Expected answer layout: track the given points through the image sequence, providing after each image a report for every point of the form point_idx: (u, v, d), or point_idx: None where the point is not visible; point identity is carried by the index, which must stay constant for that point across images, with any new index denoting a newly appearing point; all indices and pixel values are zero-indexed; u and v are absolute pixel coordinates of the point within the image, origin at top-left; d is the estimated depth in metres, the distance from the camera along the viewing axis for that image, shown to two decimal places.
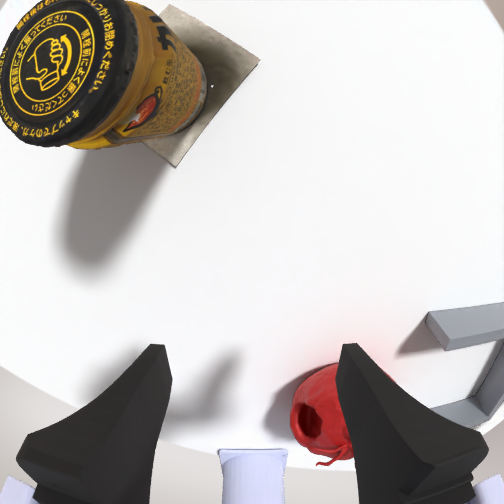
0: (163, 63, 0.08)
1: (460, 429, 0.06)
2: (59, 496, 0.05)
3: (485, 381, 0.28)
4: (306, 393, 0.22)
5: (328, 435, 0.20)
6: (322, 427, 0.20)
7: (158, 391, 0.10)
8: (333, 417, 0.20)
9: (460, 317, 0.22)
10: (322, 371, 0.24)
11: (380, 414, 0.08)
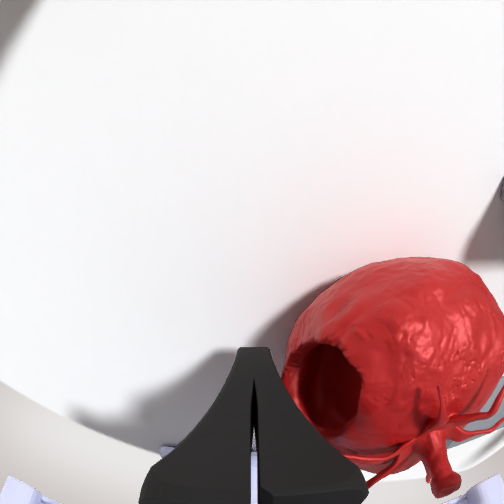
0: None
1: (334, 458, 0.06)
2: None
3: None
4: (315, 318, 0.10)
5: (376, 418, 0.07)
6: (363, 397, 0.08)
7: None
8: (392, 366, 0.07)
9: None
10: (348, 274, 0.11)
11: (258, 425, 0.08)
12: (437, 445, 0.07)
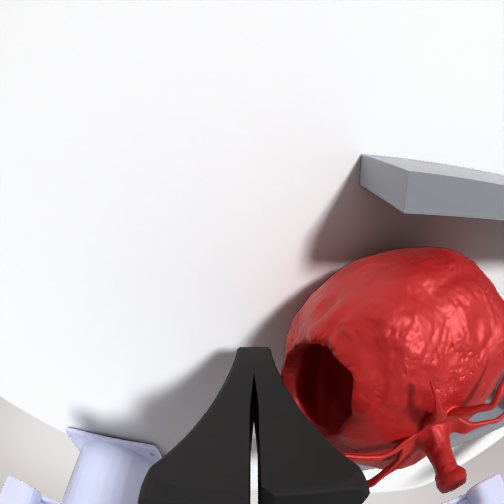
0: None
1: (335, 458, 0.06)
2: None
3: None
4: (306, 318, 0.10)
5: (371, 416, 0.07)
6: (355, 396, 0.07)
7: None
8: (382, 363, 0.07)
9: (440, 166, 0.10)
10: (339, 271, 0.11)
11: None
12: (440, 439, 0.07)
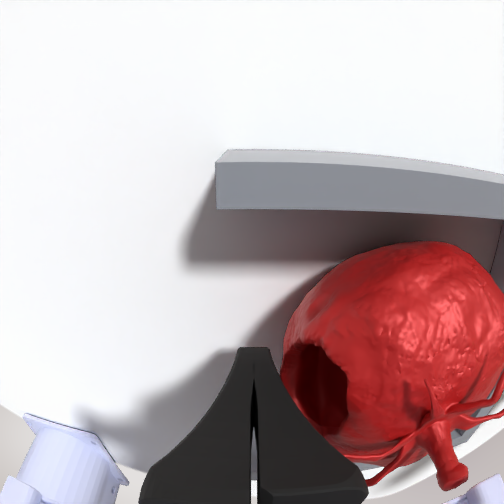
0: None
1: (334, 458, 0.06)
2: None
3: None
4: (300, 319, 0.10)
5: (368, 415, 0.07)
6: (349, 395, 0.07)
7: None
8: (375, 362, 0.07)
9: (311, 153, 0.10)
10: (332, 269, 0.11)
11: None
12: (440, 436, 0.07)
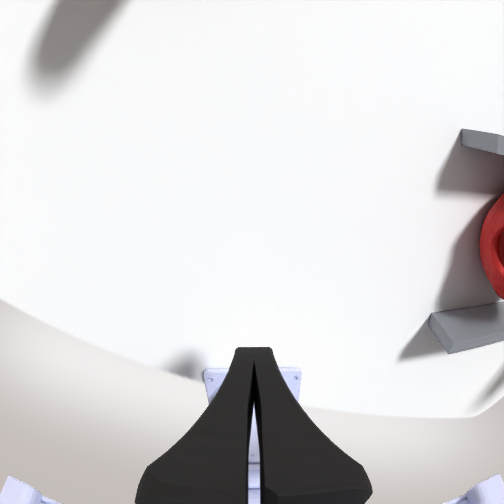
0: None
1: (338, 457, 0.06)
2: None
3: None
4: None
5: None
6: None
7: (252, 395, 0.10)
8: None
9: None
10: None
11: (261, 425, 0.08)
12: None
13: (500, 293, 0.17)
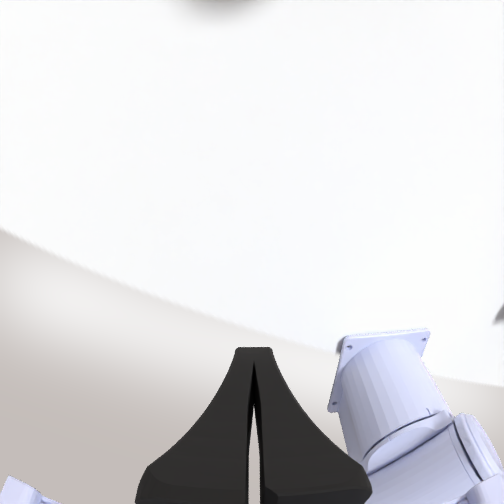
0: None
1: (338, 457, 0.06)
2: None
3: None
4: None
5: None
6: None
7: (252, 396, 0.10)
8: None
9: None
10: None
11: (261, 425, 0.08)
12: None
13: None
